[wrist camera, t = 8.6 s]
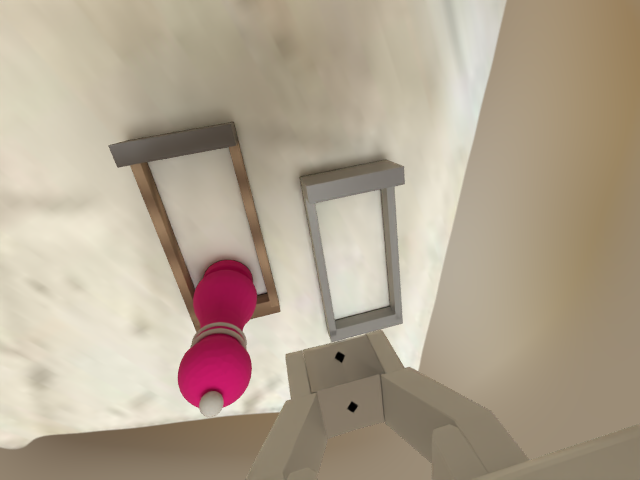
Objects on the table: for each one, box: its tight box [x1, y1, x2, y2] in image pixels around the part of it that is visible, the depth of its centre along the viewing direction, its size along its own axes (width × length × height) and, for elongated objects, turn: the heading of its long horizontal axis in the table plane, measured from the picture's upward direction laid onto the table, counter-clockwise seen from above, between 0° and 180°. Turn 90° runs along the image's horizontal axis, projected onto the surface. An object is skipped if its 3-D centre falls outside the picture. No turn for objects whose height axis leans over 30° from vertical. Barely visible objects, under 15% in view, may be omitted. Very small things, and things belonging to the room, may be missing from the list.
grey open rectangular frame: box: [300, 160, 405, 342], centre depth 41 cm, size 24×11×5 cm, turn 9°
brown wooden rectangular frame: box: [108, 122, 280, 332], centre depth 36 cm, size 24×11×5 cm, turn 9°
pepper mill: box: [178, 260, 257, 417], centre depth 33 cm, size 7×7×20 cm
